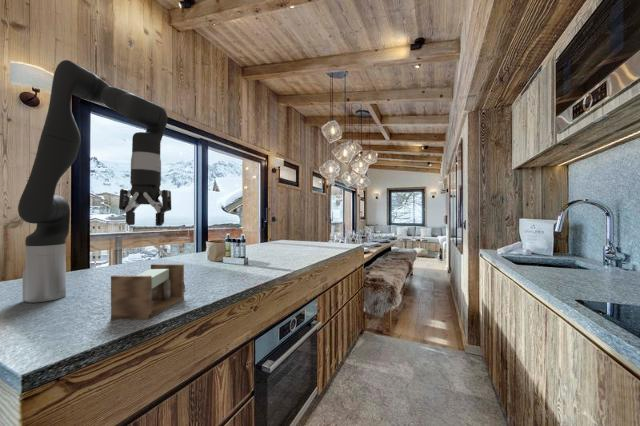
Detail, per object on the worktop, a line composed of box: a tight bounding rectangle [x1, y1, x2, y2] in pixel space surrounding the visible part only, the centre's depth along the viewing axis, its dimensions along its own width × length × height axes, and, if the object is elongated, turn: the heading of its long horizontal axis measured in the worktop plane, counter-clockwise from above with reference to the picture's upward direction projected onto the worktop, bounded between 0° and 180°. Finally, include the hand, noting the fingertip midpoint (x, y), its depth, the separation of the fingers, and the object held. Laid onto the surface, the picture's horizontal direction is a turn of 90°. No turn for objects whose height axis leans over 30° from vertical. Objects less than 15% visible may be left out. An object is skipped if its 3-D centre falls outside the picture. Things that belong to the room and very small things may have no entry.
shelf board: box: [135, 268, 169, 288], centre depth 81 cm, size 6×12×3 cm, turn 9°
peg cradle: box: [110, 263, 185, 320], centre depth 81 cm, size 10×17×11 cm, turn 178°
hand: (145, 225), depth 82 cm, fingers open, 8 cm apart
